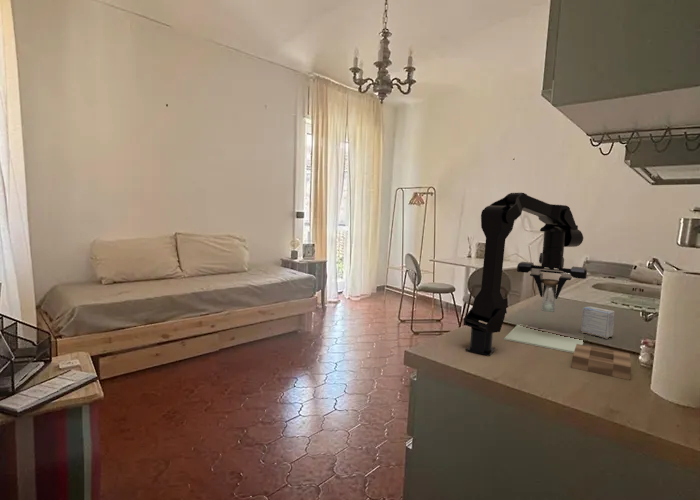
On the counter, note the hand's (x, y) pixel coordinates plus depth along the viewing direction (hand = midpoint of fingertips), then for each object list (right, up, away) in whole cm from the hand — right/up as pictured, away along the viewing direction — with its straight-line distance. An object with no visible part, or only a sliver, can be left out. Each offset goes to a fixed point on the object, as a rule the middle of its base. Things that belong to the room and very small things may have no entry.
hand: (548, 297), depth 125 cm
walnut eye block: (+3, -15, -21) cm, 26 cm away
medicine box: (+19, -13, +7) cm, 24 cm away
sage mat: (0, -13, +1) cm, 13 cm away
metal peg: (0, -4, 0) cm, 4 cm away
